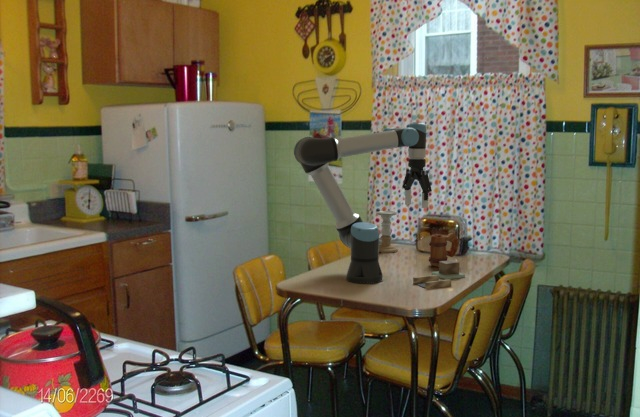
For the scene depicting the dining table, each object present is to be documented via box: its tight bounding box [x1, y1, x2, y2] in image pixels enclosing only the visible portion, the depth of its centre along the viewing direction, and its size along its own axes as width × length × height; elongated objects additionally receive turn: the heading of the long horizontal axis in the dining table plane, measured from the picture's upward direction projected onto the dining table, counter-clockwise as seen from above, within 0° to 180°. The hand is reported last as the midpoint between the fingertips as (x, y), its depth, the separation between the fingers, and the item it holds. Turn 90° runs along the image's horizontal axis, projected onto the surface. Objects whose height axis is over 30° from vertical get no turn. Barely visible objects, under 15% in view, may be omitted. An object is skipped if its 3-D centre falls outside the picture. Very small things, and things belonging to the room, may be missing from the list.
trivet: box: [431, 270, 466, 280], centre depth 279 cm, size 10×10×1 cm
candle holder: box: [375, 210, 399, 254], centre depth 334 cm, size 12×12×20 cm
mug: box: [428, 232, 459, 268], centre depth 299 cm, size 15×8×15 cm, turn 105°
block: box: [438, 259, 461, 275], centre depth 279 cm, size 7×5×5 cm
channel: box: [412, 274, 452, 290], centre depth 264 cm, size 12×10×2 cm
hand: (416, 206), depth 288 cm, fingers open, 13 cm apart
